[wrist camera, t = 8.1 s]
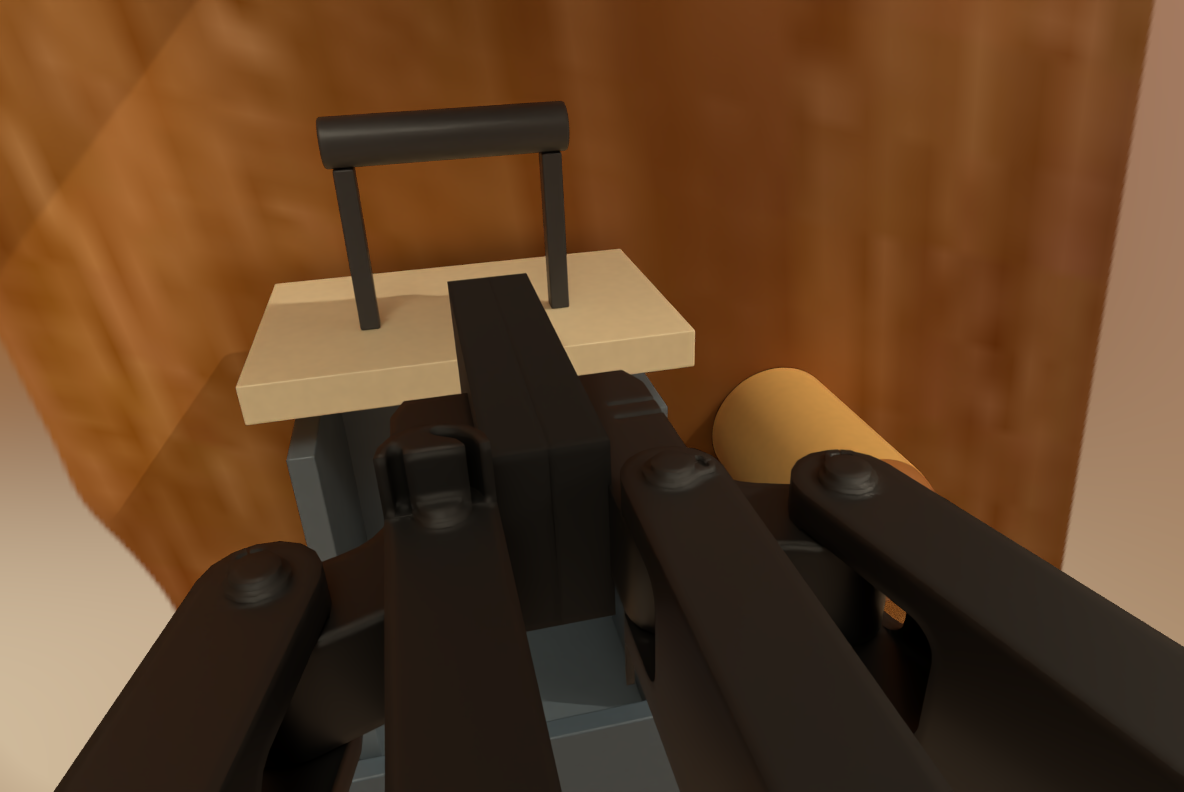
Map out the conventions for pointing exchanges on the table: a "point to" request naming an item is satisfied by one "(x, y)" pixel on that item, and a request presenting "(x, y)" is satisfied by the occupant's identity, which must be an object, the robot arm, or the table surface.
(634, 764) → the cabinet
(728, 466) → the dome-topped cylinder
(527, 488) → the robot arm
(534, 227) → the table surface
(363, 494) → the drawer
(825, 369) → the table surface
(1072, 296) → the table surface
